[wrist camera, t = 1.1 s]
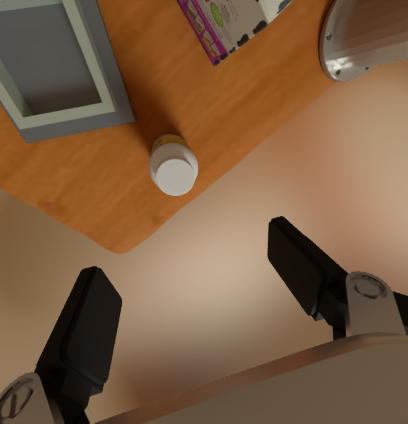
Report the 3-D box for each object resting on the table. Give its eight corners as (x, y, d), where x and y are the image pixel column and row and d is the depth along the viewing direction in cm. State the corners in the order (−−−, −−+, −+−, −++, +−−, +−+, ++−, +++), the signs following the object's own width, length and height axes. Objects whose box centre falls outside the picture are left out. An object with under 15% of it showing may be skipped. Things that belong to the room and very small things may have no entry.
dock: (84, -37, 20) (71, -61, 17) (136, 121, 29) (133, 122, 26) (-73, -18, 19) (-117, -41, 16) (30, 142, 27) (14, 146, 24)
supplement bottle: (158, 126, 30) (157, 138, 19) (194, 142, 32) (212, 161, 21) (146, 164, 32) (140, 193, 22) (181, 176, 35) (190, 208, 24)
